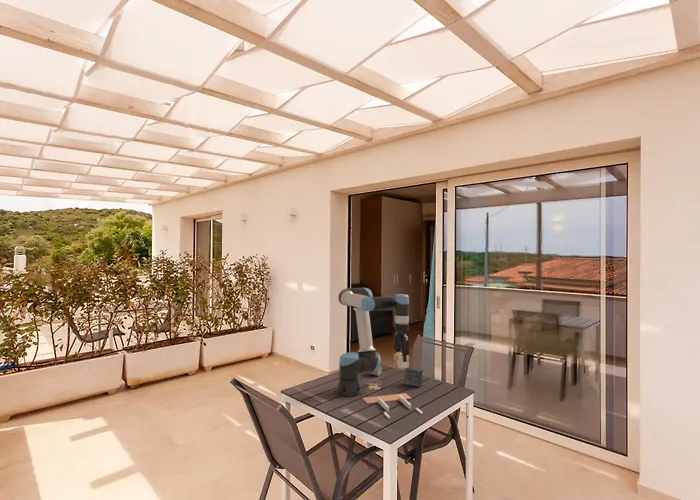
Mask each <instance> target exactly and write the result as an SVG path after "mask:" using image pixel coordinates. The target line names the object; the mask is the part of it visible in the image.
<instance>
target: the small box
mask: <svg viewBox="0 0 700 500" xmlns="http://www.w3.org/2000/svg"><path fill="white" fill-rule="evenodd" d="M408 385H409V387H413V386H414V387H413V388H418V387H419V388H420V386H421V387H422V386H423V369H422V368H416V367H410V366H409V367H407V368H404V386H408Z"/></svg>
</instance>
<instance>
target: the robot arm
mask: <svg viewBox="0 0 700 500" xmlns="http://www.w3.org/2000/svg"><path fill="white" fill-rule="evenodd" d="M337 297H338V298H337V300H338V303H340V304H341V305H342V306H346V307H352V309H353V311H355V318H356V326H357V333H358V334H357V335H358V343H359V344H358V345H359V348H358V349H359V350H358V351H357V352H356V351H351V352H345V353H343V354H341V355H340V357H339V361H338V364H339V367H338V368H339V369H338V371H339V374H338V375H339V379H338V381H337V385H336V388H335V389H336V391H335V392H336V394H337V395H339V396H341V397H348V398H349V397H357V396H359V395H361V392H362V389H361V385H360V381H359V375H362V374H368V373H369V372H375V371H377V370H378V369H379V367H380V366H381V362H382V359H381V355H380V353H379V352H377V349H376V348H375V347H374V344H373V343H374V342H373V335H372V328H371V327H372V325H371V318H370V312H373V311H376V312H377V311H391V310H392V311H394V322H395V323H394V347H393V349H394V351H395V354H401V353H402V355H401V356H402V361H401V368H400V369H405V368H407V355H408V356H410V345H409V344H410V343H409V341H410V336H407V331H409V326H410V324H409V321H410V313H409V312H410V297H409V295H408V294H404V293H399V294H398V293H396V294H395V295H394V296H393V295H385V296H373V293H372V290H371V289H369V288H367V287H347V288H344V289H342V290H341V291H340V292H339V293H338V296H337Z"/></svg>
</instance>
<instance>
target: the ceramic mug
mask: <svg viewBox="0 0 700 500" xmlns="http://www.w3.org/2000/svg"><path fill="white" fill-rule="evenodd" d="M382 370H383V369H382V366H381V365H380V367H379V369H378V370H377V371H375V372H369V373H367V374H368V375H372V376H375V377H379V376H380V375H382V372H383V371H382Z"/></svg>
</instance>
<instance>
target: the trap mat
mask: <svg viewBox="0 0 700 500" xmlns="http://www.w3.org/2000/svg"><path fill="white" fill-rule="evenodd" d="M399 395H401V396H402V397H403V398H404V399H406V400H412V397H411V396H409V394H407V393H405V392H404V393H396V394H395V393H394V394H386V395H377V396H367V397H362V400H363V401H364V402H365V403H366V404H367V405H369V404H370V405H371V404H377V403H378V397H380V398H381V399H382V400H383V401H384V402H385V403H388V402H394V401H400V400H399ZM378 404H379V403H378Z"/></svg>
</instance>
